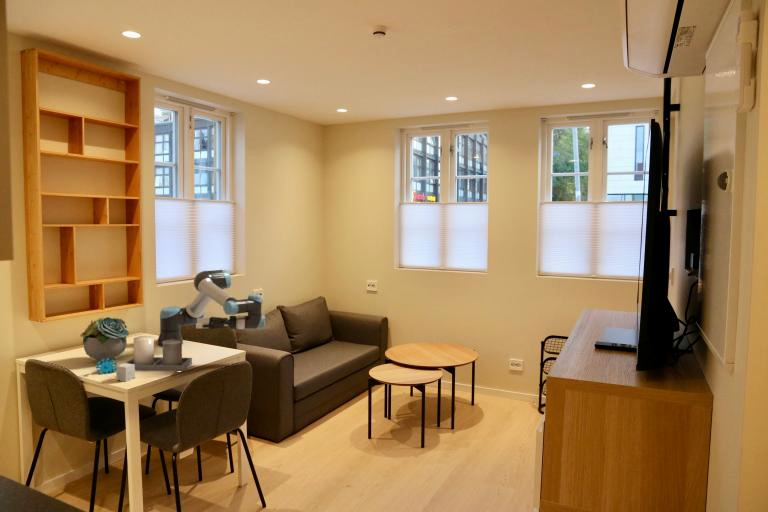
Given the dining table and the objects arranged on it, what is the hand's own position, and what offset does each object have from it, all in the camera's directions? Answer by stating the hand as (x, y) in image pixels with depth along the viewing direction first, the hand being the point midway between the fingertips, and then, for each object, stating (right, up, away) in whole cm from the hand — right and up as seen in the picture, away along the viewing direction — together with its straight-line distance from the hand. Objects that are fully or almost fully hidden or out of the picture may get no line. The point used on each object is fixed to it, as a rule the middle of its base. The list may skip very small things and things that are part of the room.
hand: (196, 323), depth 290 cm
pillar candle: (-11, -23, -5) cm, 26 cm away
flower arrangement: (-52, -22, +4) cm, 57 cm away
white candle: (-26, -22, -6) cm, 35 cm away
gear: (-39, -24, -19) cm, 49 cm away
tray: (-19, -23, -5) cm, 31 cm away
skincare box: (-26, -25, -27) cm, 45 cm away
